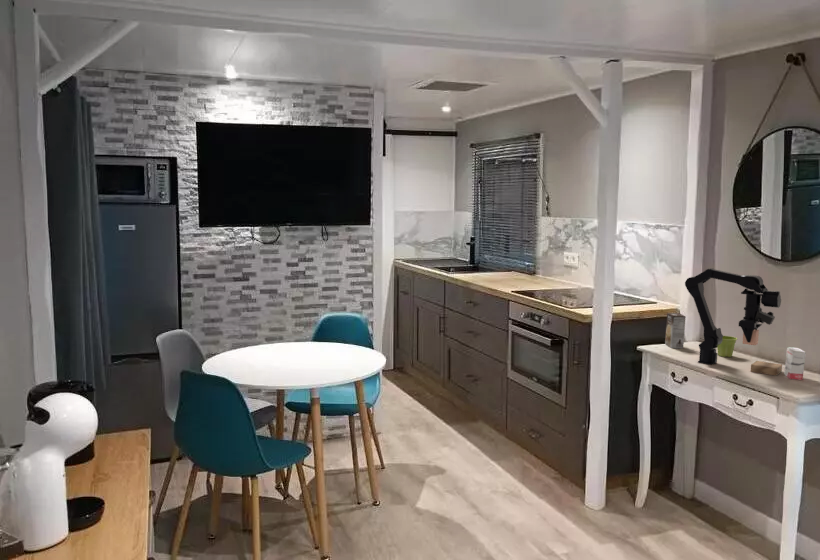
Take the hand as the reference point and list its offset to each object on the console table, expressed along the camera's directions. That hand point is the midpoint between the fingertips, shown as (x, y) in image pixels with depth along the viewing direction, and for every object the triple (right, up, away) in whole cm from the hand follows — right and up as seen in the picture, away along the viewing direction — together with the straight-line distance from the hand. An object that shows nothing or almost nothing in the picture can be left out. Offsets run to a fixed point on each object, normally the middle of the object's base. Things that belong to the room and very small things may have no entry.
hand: (750, 341), depth 303 cm
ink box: (+12, -14, -11) cm, 22 cm away
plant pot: (+1, -9, +28) cm, 29 cm away
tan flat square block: (+6, -13, -2) cm, 14 cm away
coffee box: (-15, -7, +47) cm, 50 cm away
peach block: (0, -1, 0) cm, 1 cm away
